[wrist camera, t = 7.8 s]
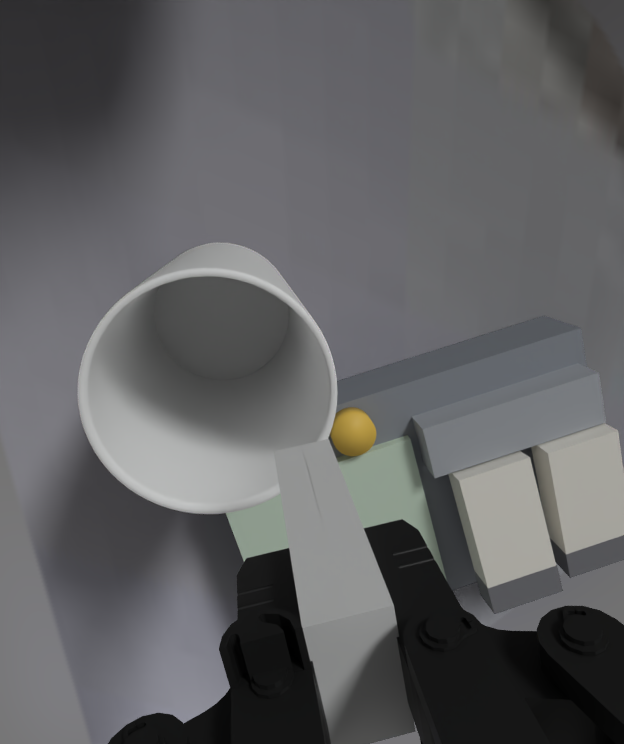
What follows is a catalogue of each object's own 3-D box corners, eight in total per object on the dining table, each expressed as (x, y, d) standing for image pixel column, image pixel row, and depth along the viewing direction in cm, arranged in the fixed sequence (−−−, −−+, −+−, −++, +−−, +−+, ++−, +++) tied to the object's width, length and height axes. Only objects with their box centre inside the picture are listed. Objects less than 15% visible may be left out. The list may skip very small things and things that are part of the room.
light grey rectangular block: (458, 480, 30) (494, 613, 32) (530, 457, 31) (563, 590, 32) (446, 468, 32) (480, 594, 34) (513, 446, 33) (544, 572, 34)
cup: (246, 406, 35) (254, 554, 20) (123, 337, 33) (27, 443, 18) (319, 292, 34) (387, 356, 19) (196, 213, 32) (159, 213, 17)
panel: (206, 422, 35) (200, 471, 28) (544, 315, 36) (614, 339, 29) (274, 606, 39) (282, 687, 32) (576, 505, 40) (645, 564, 33)
